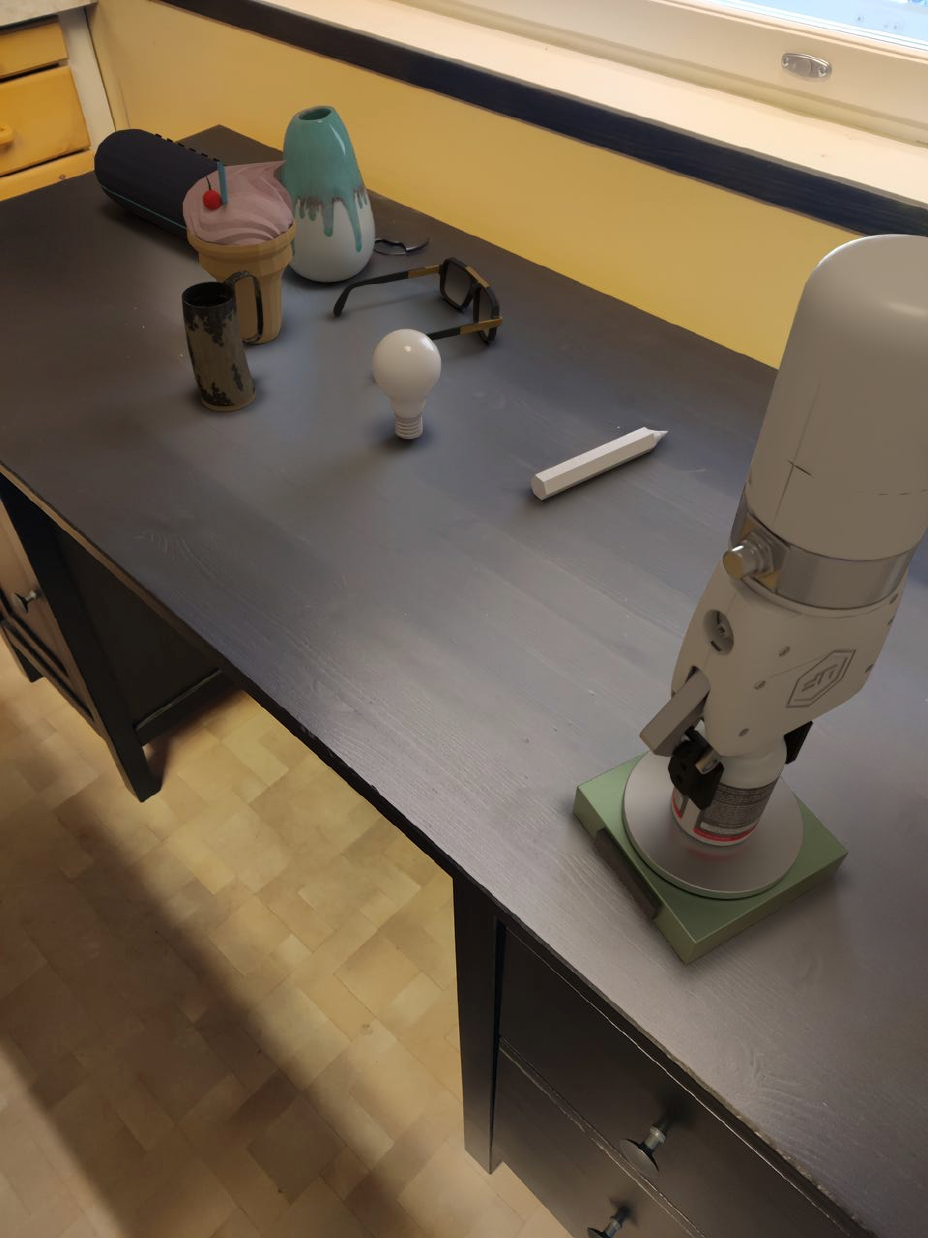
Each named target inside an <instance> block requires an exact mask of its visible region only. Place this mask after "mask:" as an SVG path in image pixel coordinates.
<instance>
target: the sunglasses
mask: <svg viewBox="0 0 928 1238" xmlns="http://www.w3.org/2000/svg"><path fill="white" fill-rule="evenodd" d="M435 274H438V275H439V292H440V294H441V296H442V297H443V299H445V300H446V301H447V302H448V303H449V304H450V305H452V306H454V307H456V308H457V309H467V308H468V307H469V306H470V304H471V302H472V323H467V324H462V325H458V326H454V327H449V328H445V329H441V330H438V331H434V332H428V333H424V334H425V335H426V336H428V337H429V338H430V339H431V340H432V341H433V342H434V341H438V340H442V339H448V338H452V337H456V336H461V335H466V334H471V333H475V332H478V334H479V335H480V336H481V338H482V339H483V341H485V342H491V341H494V340H495V339H496V335H497V331H498V328H499V327H502V324H503V320H504V318H503V317H502V316H501V315H500V311H501V306H500V302H499V299H498V297H497V295H496V293H495V291H494V290H493V288H492V286H490V284H489V283H487V282H486V281H485V280H484V278H483V277H481V276H480V275H479V274H478V273H477V272H476V271H475V270H474V269H473V268H472V267H471V266H469V265H467V264H466V263H464V262H463V261H462V260H459V258H456V257H454V256H451V257H448V258H445V259H444V260H443V263H441V264H436V265H430V266H423V267H417V268H412V269H406V270H401V271H397V272H393V273H388V274H384V275H379V276H375V277H370V278H366V279H363V280H359V281H358V280H357V281H355V282H351V283H350V284H348V285H347V286H345V288H344V289H343V291H342V292H341V293H340V295H339V297H338V298H337V299H336V301H335V304H334V305H333V310H332V312H333V315H334V317H335V318H339V316H340V315H341V314H342V313H343V310H344V309H345V305H346V303H347V300H348V298H349V295H350V293H351V291H352V290H354V289H356V288H359V287H363V286H368V285H381V284H388V283H393V282H397V281H403V280H409V279H414V278H420V277H424V276H428V275H435Z"/></svg>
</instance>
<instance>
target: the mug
mask: <svg viewBox="0 0 928 1238" xmlns="http://www.w3.org/2000/svg"><path fill="white" fill-rule="evenodd" d="M246 277H253V283H254V291H255V298H256V307H257V320H258V321H257V333H256V334H255V335H254V336H253V337H251V338H248V339H245V340H244V341H242V337H241V331H240V325H239V320H238V314H237V303H236V292H235V283H236V282H237V281H239V280H240V279H243V278H246ZM181 307H182V317H183V320H182V321H183V325H184V332H185V337H186V345H187V350H188V354H189V359H190V363H191V366H192V372H193V375H194V379H195V383H196V386H197V389H198V392H199V395H200V399H201V402H202V404H203V405H204V406H205V407H206V408H208V409H210V410H212V411H217V412H233V411H238V410H241V409H244V408H245V407H248V406H250V405H251V404H252V403H253V402H254V400H256V397H257V390H256V386H255V383H254V379H253V377H252V373H251V371H250V368H249V367H250V366H249V364H248V360H247V355H246V351H245V348H244V343H245V344H246V345H250V344H252V343H254V342H257V341H258V340H260V338H261V337H262V334H263V326H264V323H263V306H262V297H261V287H260V282H259V280H258V279H257V278H256V277H255V276H253V275H252V274H251V273H250V272H249V271H245V270H243V271H239V272H236V273H233V274H232V275H231V276H229V277H228V278H227V279H226V280H225V281H224V282H223V283H222V282H217V281H203V282H200V283H196V284H193V285H190V286H188V287H187V288H186V289H185V290H183V291H182V293H181Z"/></svg>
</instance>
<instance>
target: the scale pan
mask: <svg viewBox="0 0 928 1238" xmlns="http://www.w3.org/2000/svg"><path fill="white" fill-rule="evenodd" d="M649 751H650V750H649ZM670 758H671V756H670V757H664V756H658V755H654V754H653V753H652V751H650V752H649V753H648V754H646V755H645V756H644V757H643V758H642V759H641V760H640V761H639V762H638V763H637V764H636V765H635V767H634V768H633V770H632V771H631V773H630V775H629V777H628V779H627V782H626V786H625V790H624V794H623V800H622V815H623V820H624V825H625V828H626V831H627V834H628V836H629V838H630V840H631V842H632V844H633V846H634V848H635V849H636V851H637V852H638V854H639V855H640V856H641V857H642V859H643V860H644V861H645V862H646V863H647V864H648V865H649V866H650V867H651V868H652V869H653V870H654V871H655V872H656V873H658V874H659V875H660V876H662V877H663V878H664V879H666V880H667V881H669V882H671V883H672V884H674V885H676V886H678V887H680V888H682V889H684V890H687V891H689V892H692V893H695V894H698V895H702V896H707V897H712V898H722V899H733V898H742V897H748V896H752V895H755V894H758V893H761V892H763V891H765V890H767V889H769V888H771V887H772V886H774V885H775V884H777V883H778V882H779V881H780V880H781V879H782V878H783V877H784V876H785V875H786V874H787V873H788V872H789V870H790V869H791V868H792V866H793V864H794V862H795V861H796V859H797V856H798V854H799V852H800V849H801V845H802V841H803V820H802V815H801V811H800V808H799V805H798V802H797V800H796V798H795V796H794V794H795V793H794V791H793V790H792V789H791V788H790V786H789V784H788V783H787V781H785V779H784V778H783V777H782V776H781V775H780V777H779V779H778V781H777V783H776V785H775V787H774V790H773V792H772V794H771V796H770V798H769V801H768V803H767V805H766V807H765V809H764V811H763V814H762V816H761V818H760V820H759V822H758V824H757V826H756V828H755V830H754V831H753V833H752V834H751V835H750V836H749V837H748V838H746V839H745V840H743V841H742V842H739V843H736V844H733V845H728V846H719V845H713V844H708V843H704V842H702V841H700V840H698V839H696V838H694V837H693V836H691V835H690V834H688V833H687V832H686V831H685V830H684V829H683V828H682V827H681V826H680V825H679V823H678V822H677V820H676V818H675V816H674V814H673V811H672V807H671V795H672V791H673V787H674V785H673V783H672V781H671V779H670V774H669V772H668V765H669V762H670ZM793 793H794V794H793Z"/></svg>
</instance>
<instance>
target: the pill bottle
mask: <svg viewBox="0 0 928 1238" xmlns="http://www.w3.org/2000/svg"><path fill="white" fill-rule="evenodd" d="M695 730H697V731H698V732H699V733H700V734H701V735H702V736H703V737H704V738H705V740H706V741H707V738H706V732H705V725H704V722H703V721H702V720H700V722H699V723H698V725H697V726H696V728H695ZM783 737H784V735H783V736H781V737H779V738H777V739H775V740H773V741H771V742H769V743H767V744H765V745H763V746H761V747H759V748H757V749H755V750H753V751H750V752H748V753H746V754H742V755H738V756H723V757H722V759H721V760H720V762H721V763H722V764H723V766H724V772H723V774H722V777H721V780H720V782H719V785H718V787H717V790H716V793H715V795H714V798H713V801H712V803H711V805H710V807H708V808H706V809H704V810H700V809H698V808H697V806H696V805H695V804H694V803H693V802H692V800H691V799H690V798H689V797H688V796H687V795H686V796H684V795H682V794H681V793H680V792H679V791H678V790H677V789H676V787H675V786H674V787H673V791H672V795H671V807H672V811H673V814H674V816H675V818H676V820H677V822H678V823H679V825H680V826H681V827H682V828H683V829H684V830H685V831H686V832H687V833H688V834H690V835H691V836H693V837H694V838H696V839H698V840H700V841H702V842H704V843H708V844H713V845H719V846H728V845H733V844H736V843H739V842H742V841H743V840H745V839H746V838H748V837H749V836H750V835H751V834H752V833H753V831H754V830H755V828H756V826H757V824H758V822H759V820H760V818H761V816H762V814H763V811H764V809H765V807H766V805H767V803H768V801H769V798H770V796H771V794H772V792H773V790H774V787H775V785H776V783H777V781H778V779H779V777H780V776H781V775H782V773H783V771H784V768H785V766H786V764H785V761H786V756H787V749H786V744H785V741H784V738H783ZM707 742H708V741H707Z"/></svg>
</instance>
